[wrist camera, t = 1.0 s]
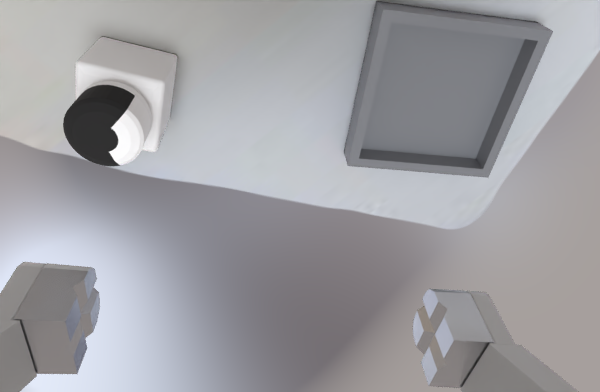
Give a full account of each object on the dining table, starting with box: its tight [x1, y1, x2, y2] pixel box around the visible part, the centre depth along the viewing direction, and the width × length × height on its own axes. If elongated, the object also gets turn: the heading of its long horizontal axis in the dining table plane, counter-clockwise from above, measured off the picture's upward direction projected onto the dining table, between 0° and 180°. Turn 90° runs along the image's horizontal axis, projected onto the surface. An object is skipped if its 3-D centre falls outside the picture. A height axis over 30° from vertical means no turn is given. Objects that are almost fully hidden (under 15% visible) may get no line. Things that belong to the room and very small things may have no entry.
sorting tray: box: [344, 1, 553, 177], centre depth 46 cm, size 16×16×3 cm
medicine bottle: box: [63, 37, 177, 166], centre depth 40 cm, size 7×7×12 cm
